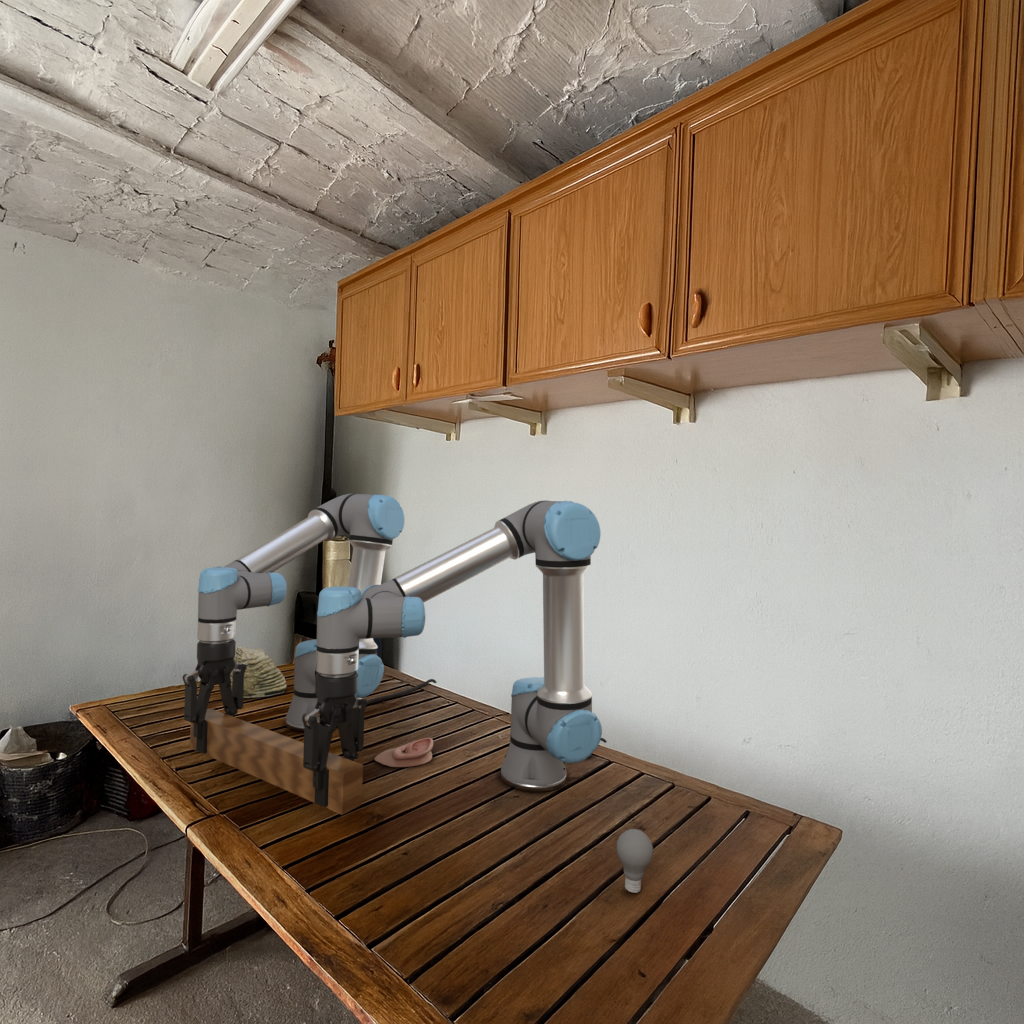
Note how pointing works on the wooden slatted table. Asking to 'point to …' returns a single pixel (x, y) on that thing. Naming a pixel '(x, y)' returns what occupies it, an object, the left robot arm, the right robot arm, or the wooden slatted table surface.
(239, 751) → the beam
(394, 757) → the beige rounded piece
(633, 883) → the light bulb
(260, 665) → the fossil
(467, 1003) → the wooden slatted table surface
